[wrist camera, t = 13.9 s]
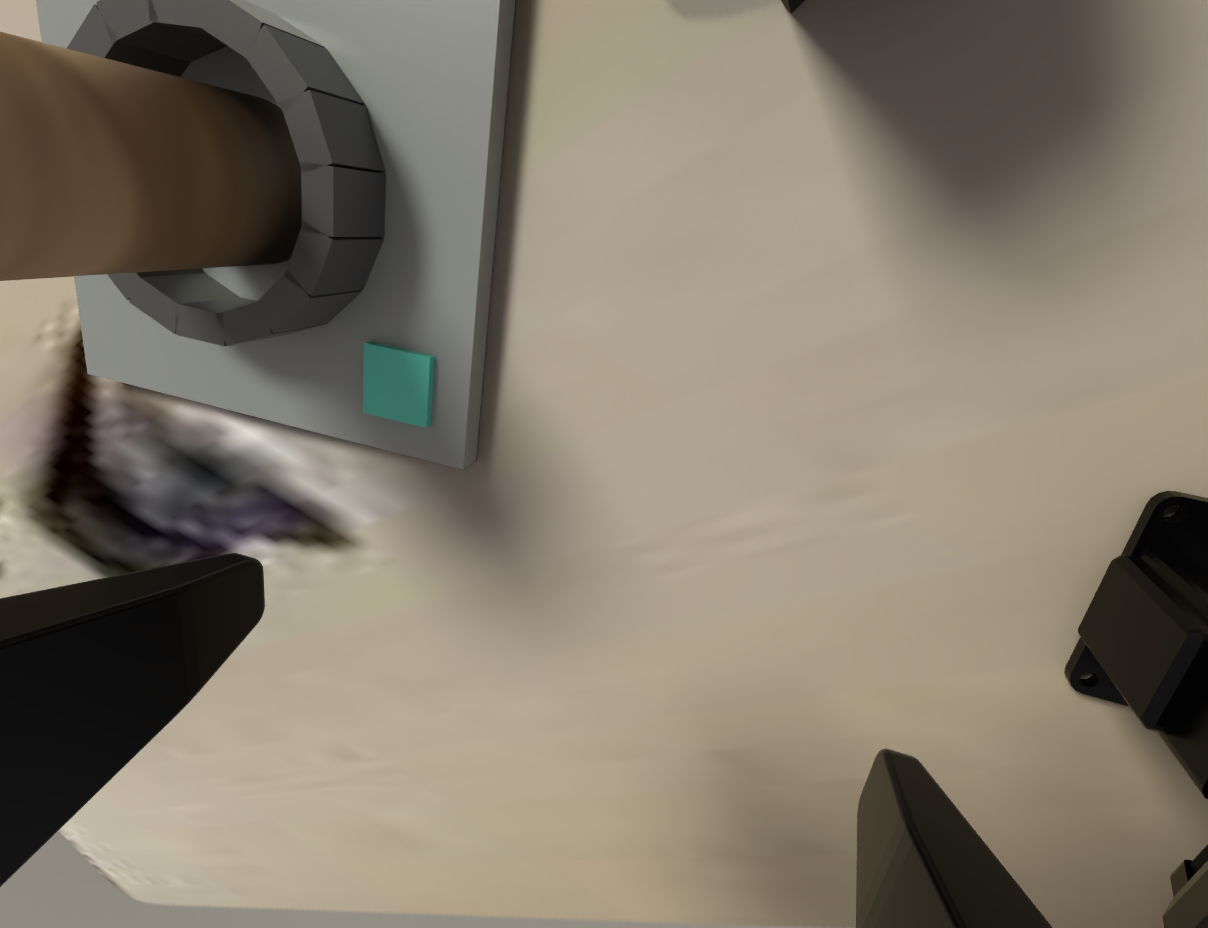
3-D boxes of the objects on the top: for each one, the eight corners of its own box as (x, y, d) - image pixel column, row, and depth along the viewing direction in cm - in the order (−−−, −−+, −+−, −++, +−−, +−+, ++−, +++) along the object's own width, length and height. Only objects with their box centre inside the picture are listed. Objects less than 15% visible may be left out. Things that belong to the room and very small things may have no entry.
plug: (350, 179, 20) (-269, 107, 8) (273, 296, 22) (-313, 368, 11) (233, 56, 20) (-577, -199, 8) (165, 185, 22) (-560, 131, 10)
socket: (522, -93, 18) (463, -164, 14) (476, 460, 23) (425, 496, 20) (50, -126, 21) (-85, -192, 18) (111, 368, 27) (18, 387, 23)
